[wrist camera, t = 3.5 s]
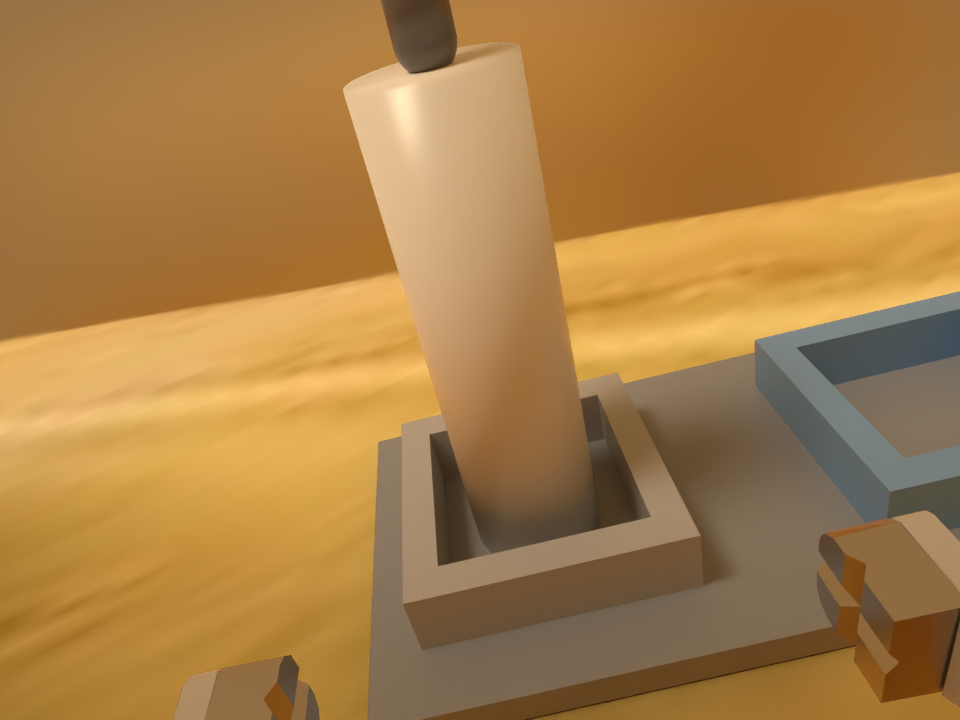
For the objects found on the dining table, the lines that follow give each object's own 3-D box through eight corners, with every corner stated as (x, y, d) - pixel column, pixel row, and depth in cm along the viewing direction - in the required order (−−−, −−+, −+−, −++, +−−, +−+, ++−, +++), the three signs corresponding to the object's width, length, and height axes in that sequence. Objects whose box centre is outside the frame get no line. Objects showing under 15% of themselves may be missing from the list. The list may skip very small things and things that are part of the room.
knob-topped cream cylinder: (484, 578, 21) (277, -81, 12) (472, 489, 24) (304, -77, 15) (613, 548, 21) (502, -140, 12) (583, 462, 24) (479, -122, 15)
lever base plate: (378, 752, 18) (342, 686, 17) (385, 460, 28) (363, 402, 27) (1297, 545, 18) (1349, 456, 16) (966, 323, 28) (979, 255, 26)
